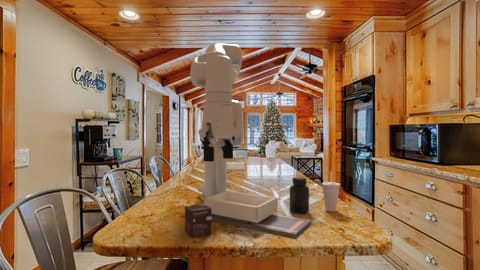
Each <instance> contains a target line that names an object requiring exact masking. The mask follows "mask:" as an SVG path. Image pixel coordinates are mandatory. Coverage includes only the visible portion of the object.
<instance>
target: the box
mask: <svg viewBox="0 0 480 270" xmlns="http://www.w3.org/2000/svg"><path fill="white" fill-rule="evenodd" d="M212 221H213V220H212V213H211V208H210V207H208V206H207V205H205V204H200V203H199V204H193V205H192V204H191V205H185V206H184V232H185V233H187V235H188V236H189V237H190V238H192V239H193V238H199V237H205V236H210V235H212V231H213V230H212V229H213V228H212V226H213V225H212V224H213V223H212Z"/></svg>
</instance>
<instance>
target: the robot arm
mask: <svg viewBox="0 0 480 270" xmlns="http://www.w3.org/2000/svg"><path fill="white" fill-rule="evenodd" d="M242 64H243V51H242V48H241V47H240V46H239V44H235V43H233V44H232V43H229V44H228V43H213V44H210V45H209V46H208V47H207V48H206V49H205V53H203V54H200V55H198V56H196V57H194V58H193V59H192V62H191V66H190V72H189V75H190V77H189V78H190V81H191V83H192V86H195V87H197V88H204V92H205V103H204V106H203V110H202V117H201V118H202V120H201V128H200V129H198V131H197V132H198V135H199V141H200V142H201V146H202V147H203V149H202V150H203V152H202V153H203V154H202V155H203V161H204V162H203V168H204V169H203V170H204V171H203V175H204V177H203V186H199V187H198V188H197V191H198V192H201V193H202V194H201V195H200V199H201V200H202V201H203V199H204V198H207V197H210V196H213V195H216V194H219V193H222V192H225V191H228V190H227V189H228V185H227V184H228V183H227V182H228V178H227V177H228V176H227V174H228V171H227V169H228V168H227V167H228V163H227V162H228V161H227V160H228V159H229V160H232V159H234V147H238V146H241V145H242V144H243V143H244V139H245V138H244V133H245V132H244V119H243V117H244V115H243V106H242V103H241V102H240V101H239V100H235V99H233V85H234V84H235V83H236V81H237V78H238V77H239V76H240V74H241V73H240V72H241V67H242V66H243V65H242ZM221 147H222V148H221Z"/></svg>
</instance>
